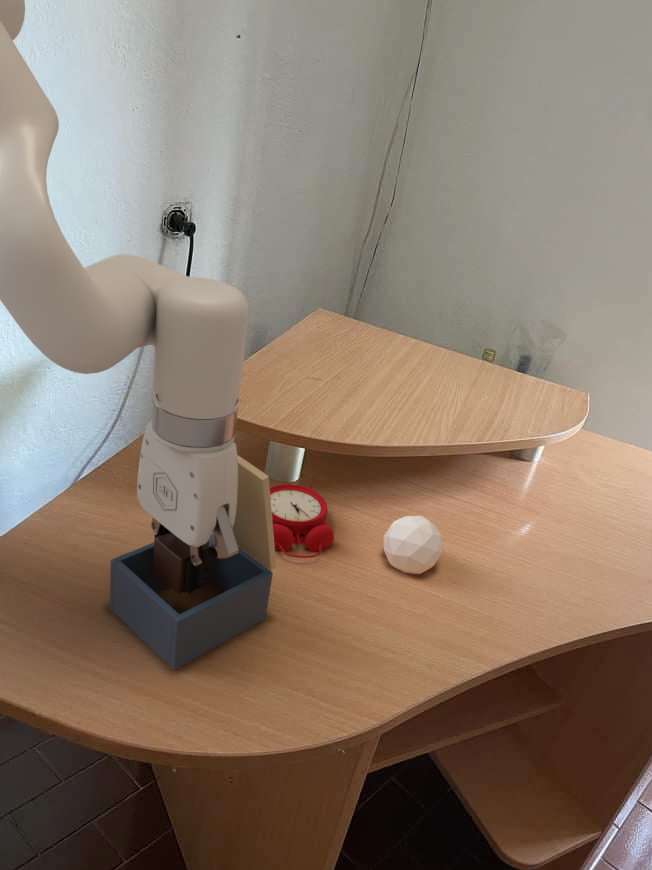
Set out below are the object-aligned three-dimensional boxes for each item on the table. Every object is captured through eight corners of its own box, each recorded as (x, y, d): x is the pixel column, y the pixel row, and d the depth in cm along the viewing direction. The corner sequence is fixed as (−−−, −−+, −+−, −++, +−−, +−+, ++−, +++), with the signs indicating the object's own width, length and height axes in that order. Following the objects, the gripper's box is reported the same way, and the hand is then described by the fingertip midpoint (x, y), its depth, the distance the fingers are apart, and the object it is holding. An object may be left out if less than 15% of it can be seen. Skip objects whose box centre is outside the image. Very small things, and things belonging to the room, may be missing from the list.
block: (152, 571, 72) (154, 537, 70) (187, 556, 75) (189, 523, 73) (178, 594, 70) (181, 560, 68) (213, 578, 73) (216, 544, 71)
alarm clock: (321, 480, 101) (349, 521, 88) (316, 520, 103) (342, 566, 89) (250, 478, 98) (266, 519, 84) (246, 519, 100) (262, 566, 86)
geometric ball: (397, 572, 97) (413, 517, 98) (444, 586, 91) (460, 527, 92) (363, 561, 91) (381, 503, 92) (411, 575, 86) (429, 513, 87)
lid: (262, 480, 66) (269, 476, 66) (188, 428, 71) (194, 425, 72) (270, 571, 75) (276, 567, 75) (204, 519, 80) (209, 516, 81)
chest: (173, 677, 70) (178, 621, 66) (109, 614, 76) (110, 559, 72) (264, 625, 79) (273, 572, 75) (201, 572, 85) (206, 520, 81)
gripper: (105, 390, 65) (104, 545, 74) (222, 472, 57) (204, 635, 66) (172, 376, 70) (164, 522, 79) (288, 449, 62) (263, 603, 71)
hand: (182, 572), depth 72 cm, fingers closed on block, 4 cm apart
